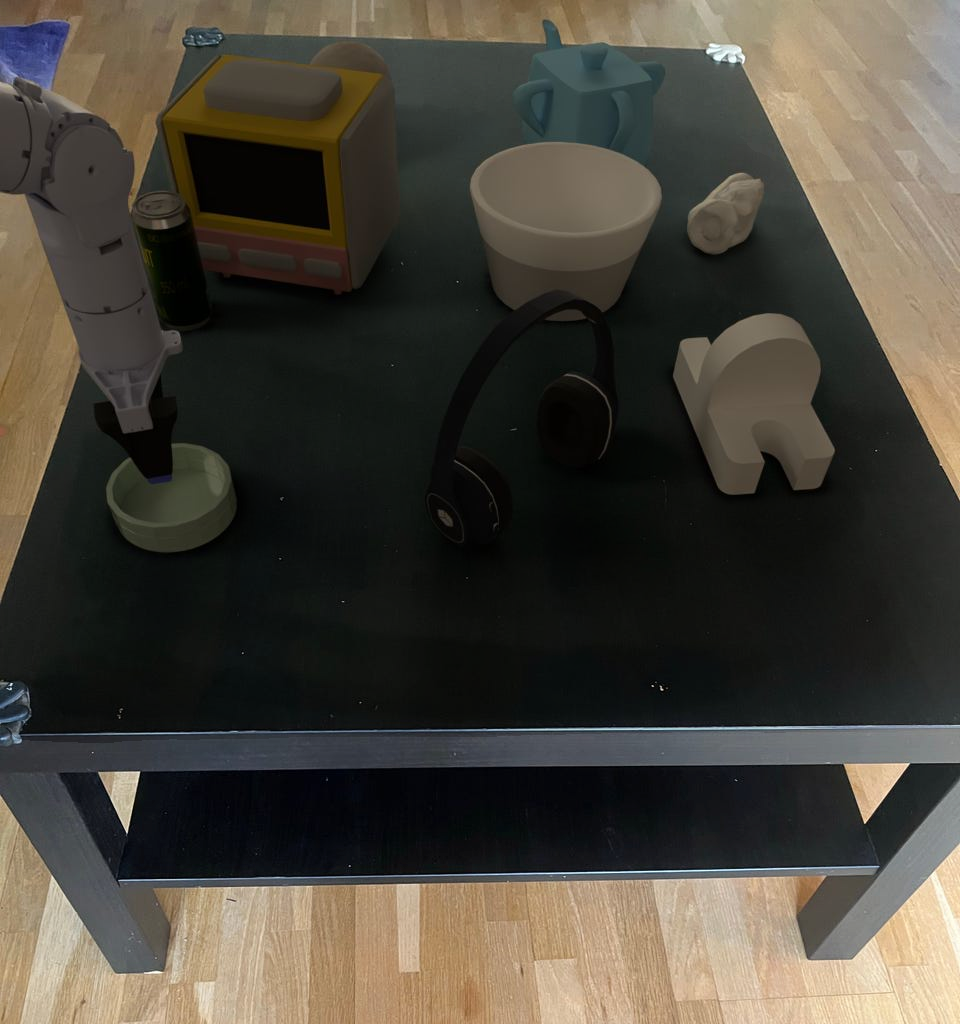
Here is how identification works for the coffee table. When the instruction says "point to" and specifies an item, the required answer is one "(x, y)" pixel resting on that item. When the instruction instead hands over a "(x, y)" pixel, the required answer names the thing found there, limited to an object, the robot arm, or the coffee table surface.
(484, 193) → the bowl
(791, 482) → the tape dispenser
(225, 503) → the celadon bowl
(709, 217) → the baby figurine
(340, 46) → the seashell
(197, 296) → the beer can
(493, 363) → the earphone
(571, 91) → the teapot
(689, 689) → the coffee table surface
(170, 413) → the robot arm
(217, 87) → the alarm clock
